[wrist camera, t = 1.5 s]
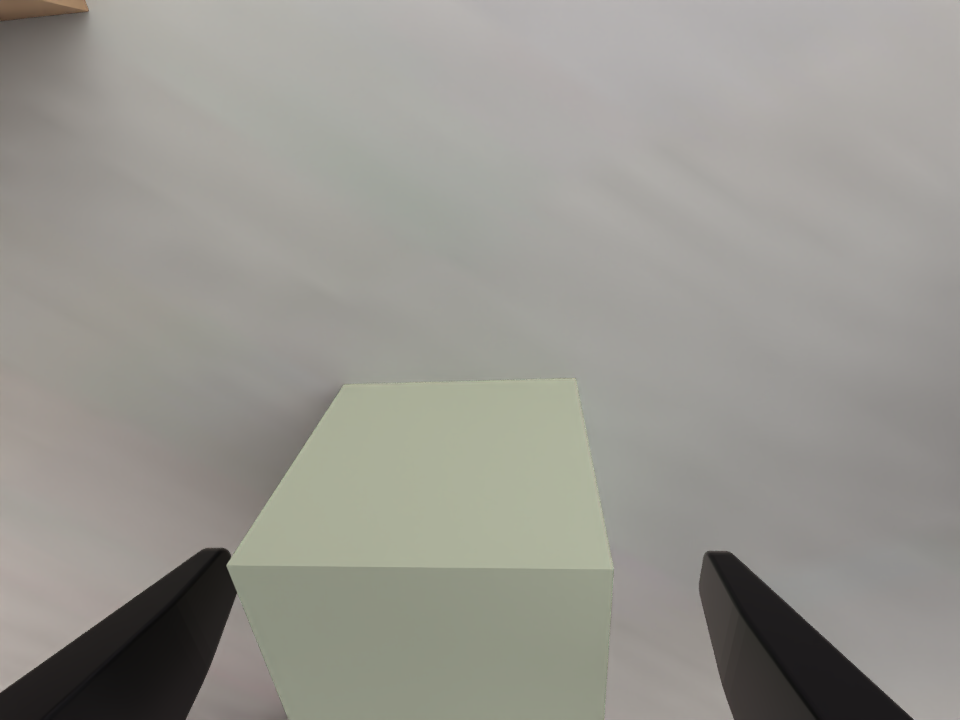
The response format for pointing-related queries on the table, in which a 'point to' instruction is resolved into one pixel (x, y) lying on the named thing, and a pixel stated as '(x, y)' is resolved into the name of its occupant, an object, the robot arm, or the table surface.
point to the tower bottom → (39, 8)
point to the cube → (436, 558)
